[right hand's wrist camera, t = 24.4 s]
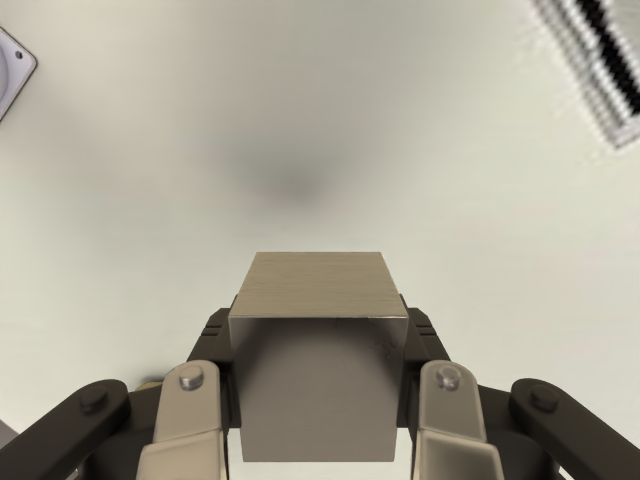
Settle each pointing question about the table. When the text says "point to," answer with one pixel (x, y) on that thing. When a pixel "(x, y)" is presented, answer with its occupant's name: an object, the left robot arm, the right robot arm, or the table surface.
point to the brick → (318, 357)
